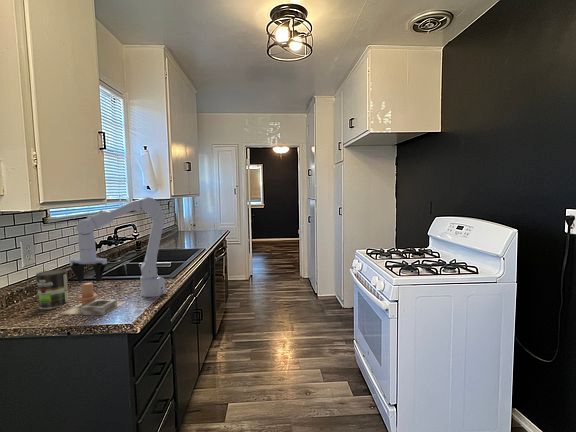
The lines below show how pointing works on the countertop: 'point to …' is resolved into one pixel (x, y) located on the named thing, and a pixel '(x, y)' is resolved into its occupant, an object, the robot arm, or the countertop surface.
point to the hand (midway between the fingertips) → (90, 281)
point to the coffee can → (52, 288)
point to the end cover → (87, 294)
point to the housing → (94, 307)
